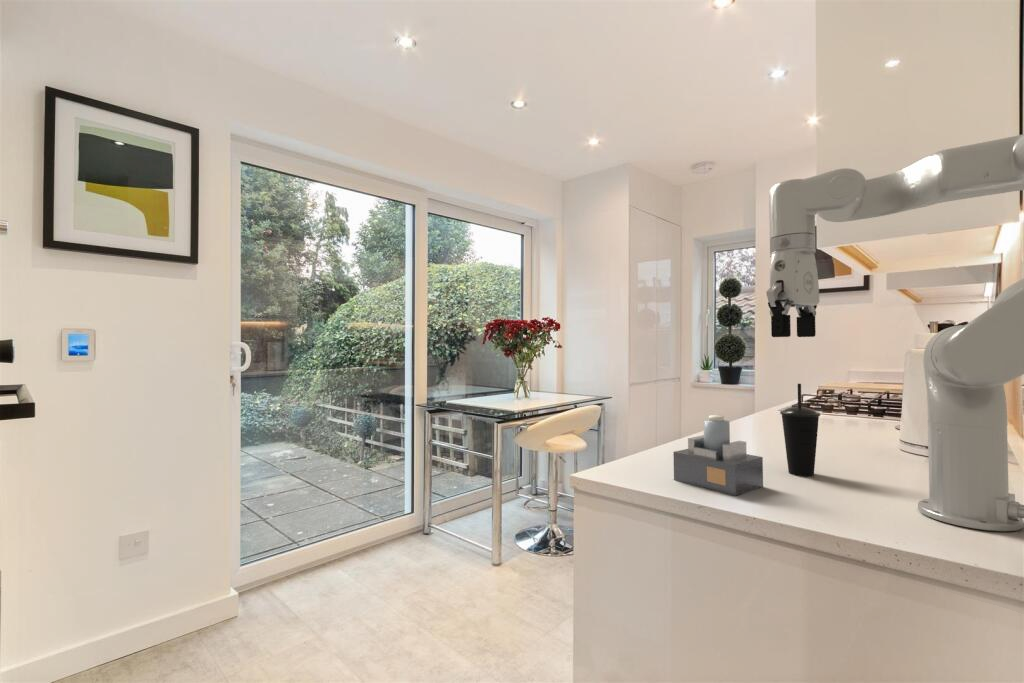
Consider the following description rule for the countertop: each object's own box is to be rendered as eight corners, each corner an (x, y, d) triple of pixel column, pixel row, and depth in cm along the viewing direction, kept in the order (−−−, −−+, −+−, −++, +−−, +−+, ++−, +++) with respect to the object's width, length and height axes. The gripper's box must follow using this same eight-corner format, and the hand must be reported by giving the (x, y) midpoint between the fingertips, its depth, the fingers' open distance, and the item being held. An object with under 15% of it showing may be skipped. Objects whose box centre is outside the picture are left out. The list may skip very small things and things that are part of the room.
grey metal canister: (735, 454, 100) (734, 416, 100) (721, 458, 97) (720, 418, 97) (713, 450, 104) (712, 413, 104) (699, 453, 101) (698, 415, 102)
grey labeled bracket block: (763, 486, 98) (762, 442, 98) (735, 496, 92) (734, 448, 92) (701, 472, 109) (701, 432, 109) (673, 479, 104) (673, 437, 104)
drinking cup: (810, 469, 110) (808, 382, 111) (828, 478, 103) (826, 385, 103) (775, 469, 111) (773, 382, 111) (791, 478, 104) (789, 385, 104)
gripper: (790, 238, 84) (792, 336, 84) (834, 248, 94) (836, 336, 94) (748, 246, 90) (750, 337, 90) (793, 254, 100) (795, 337, 100)
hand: (793, 336), depth 92 cm, fingers open, 9 cm apart
